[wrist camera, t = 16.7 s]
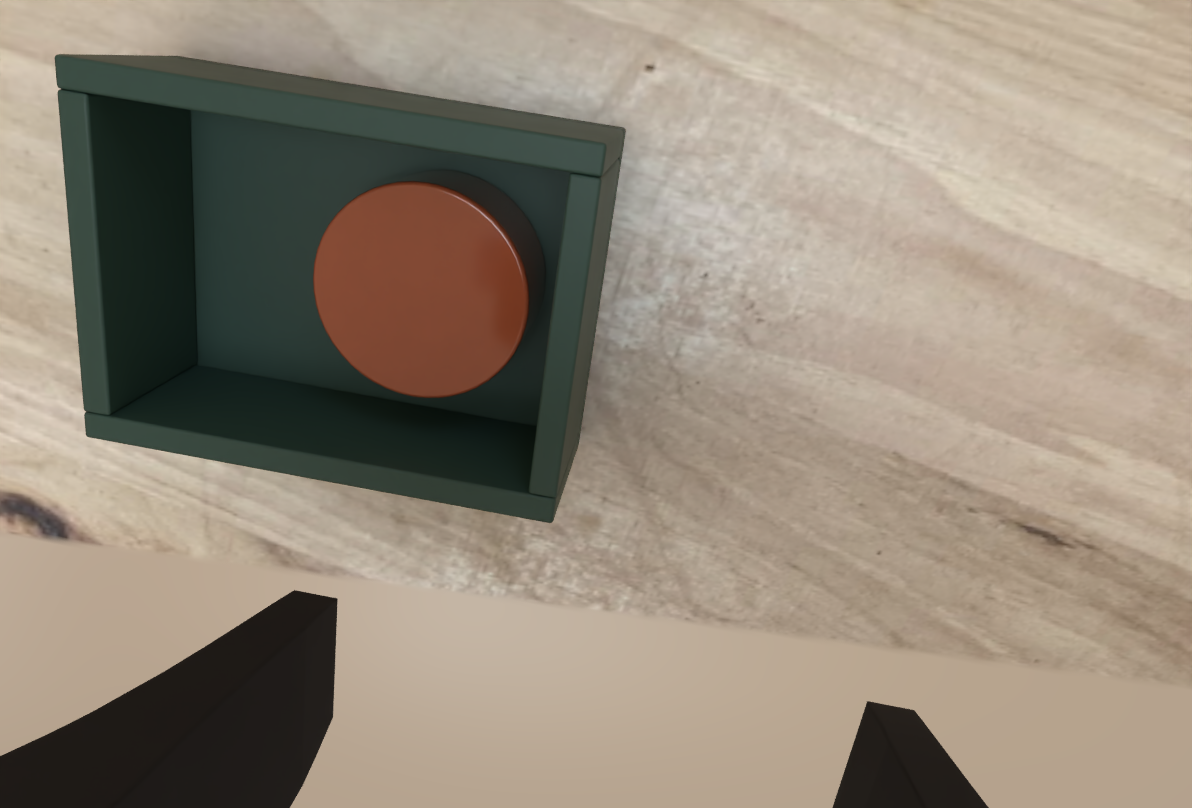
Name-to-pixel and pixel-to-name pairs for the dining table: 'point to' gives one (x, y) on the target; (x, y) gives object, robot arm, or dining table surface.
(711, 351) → the dining table surface
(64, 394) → the dining table surface
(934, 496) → the dining table surface
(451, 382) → the cylinder
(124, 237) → the tub
